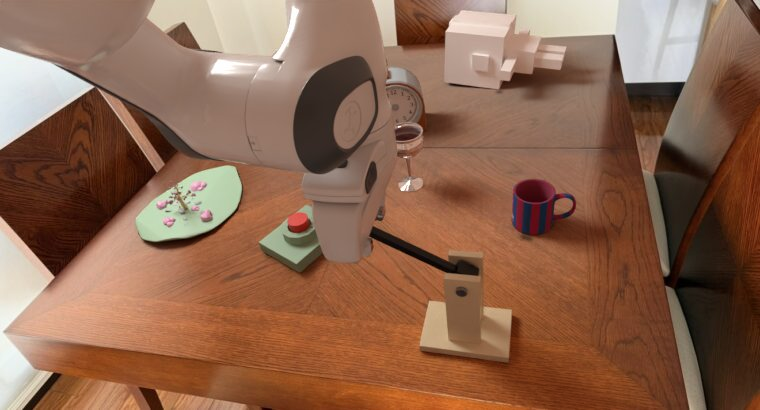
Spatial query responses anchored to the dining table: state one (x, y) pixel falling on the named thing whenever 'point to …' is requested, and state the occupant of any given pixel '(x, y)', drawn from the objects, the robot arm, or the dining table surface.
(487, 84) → the white voxel figure
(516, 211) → the mug
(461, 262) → the lever
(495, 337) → the bracket
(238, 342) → the dining table surface
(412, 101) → the alarm clock
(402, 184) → the wineglass
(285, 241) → the button box
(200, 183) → the plant
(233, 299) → the dining table surface
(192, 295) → the dining table surface
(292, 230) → the button
